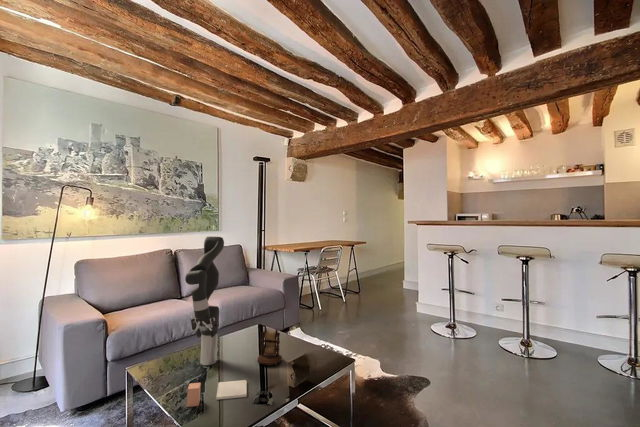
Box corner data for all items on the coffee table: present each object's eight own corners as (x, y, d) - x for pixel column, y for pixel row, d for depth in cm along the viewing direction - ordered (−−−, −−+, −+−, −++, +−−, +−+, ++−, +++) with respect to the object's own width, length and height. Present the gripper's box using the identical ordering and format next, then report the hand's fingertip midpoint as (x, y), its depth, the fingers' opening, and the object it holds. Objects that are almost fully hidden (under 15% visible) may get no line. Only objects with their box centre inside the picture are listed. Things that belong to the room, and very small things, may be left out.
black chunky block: (248, 405, 145) (248, 395, 145) (253, 397, 152) (253, 387, 152) (274, 407, 144) (275, 397, 144) (278, 398, 151) (278, 389, 151)
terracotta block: (188, 400, 146) (189, 383, 147) (200, 399, 148) (200, 382, 148) (186, 406, 142) (187, 389, 142) (198, 405, 143) (199, 388, 143)
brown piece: (284, 357, 196) (285, 325, 197) (278, 368, 181) (279, 334, 182) (261, 356, 198) (262, 324, 198) (254, 366, 183) (255, 332, 184)
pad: (218, 384, 162) (218, 382, 162) (246, 382, 165) (246, 379, 165) (216, 399, 148) (216, 397, 148) (246, 396, 151) (246, 394, 151)
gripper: (216, 304, 167) (221, 333, 168) (194, 305, 171) (199, 333, 172) (208, 309, 160) (213, 340, 161) (185, 310, 164) (190, 340, 165)
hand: (206, 336), depth 167 cm, fingers open, 8 cm apart
